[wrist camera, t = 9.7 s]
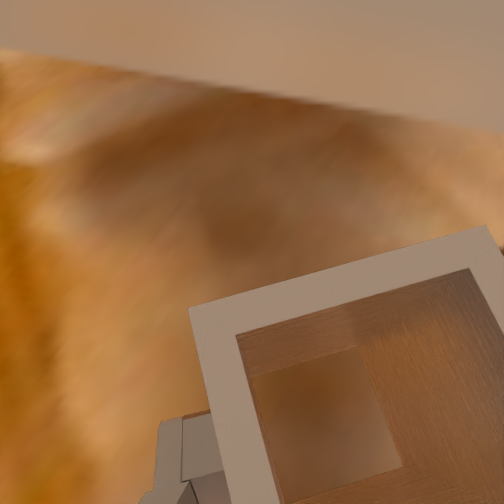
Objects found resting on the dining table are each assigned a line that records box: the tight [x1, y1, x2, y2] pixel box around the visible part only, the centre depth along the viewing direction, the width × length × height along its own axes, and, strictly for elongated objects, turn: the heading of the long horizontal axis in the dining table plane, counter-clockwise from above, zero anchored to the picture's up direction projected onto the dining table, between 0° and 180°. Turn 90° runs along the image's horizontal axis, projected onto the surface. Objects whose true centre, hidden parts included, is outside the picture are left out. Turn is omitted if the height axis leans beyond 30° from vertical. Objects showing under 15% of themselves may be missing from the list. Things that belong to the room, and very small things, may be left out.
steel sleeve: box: [188, 225, 504, 504], centre depth 9 cm, size 5×5×8 cm
